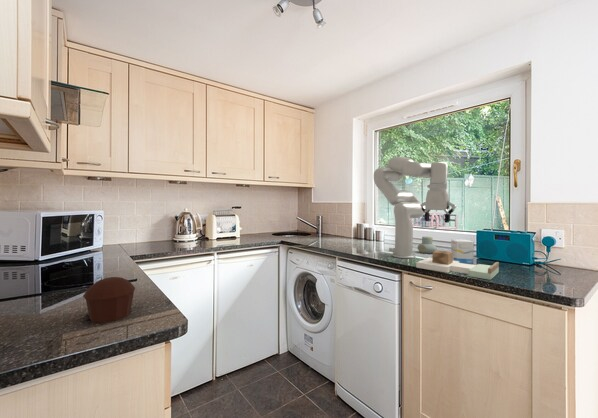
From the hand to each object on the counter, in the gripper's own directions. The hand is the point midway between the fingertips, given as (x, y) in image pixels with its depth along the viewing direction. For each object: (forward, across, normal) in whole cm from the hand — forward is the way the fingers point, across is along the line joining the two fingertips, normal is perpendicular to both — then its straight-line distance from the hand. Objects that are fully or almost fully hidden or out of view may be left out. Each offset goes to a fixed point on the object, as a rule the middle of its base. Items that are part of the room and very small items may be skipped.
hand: (436, 221), depth 139 cm
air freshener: (+23, -20, +31) cm, 44 cm away
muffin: (+22, -23, -133) cm, 137 cm away
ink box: (+22, +5, +19) cm, 30 cm away
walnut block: (+19, +5, -2) cm, 20 cm away
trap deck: (+22, +11, -2) cm, 24 cm away
